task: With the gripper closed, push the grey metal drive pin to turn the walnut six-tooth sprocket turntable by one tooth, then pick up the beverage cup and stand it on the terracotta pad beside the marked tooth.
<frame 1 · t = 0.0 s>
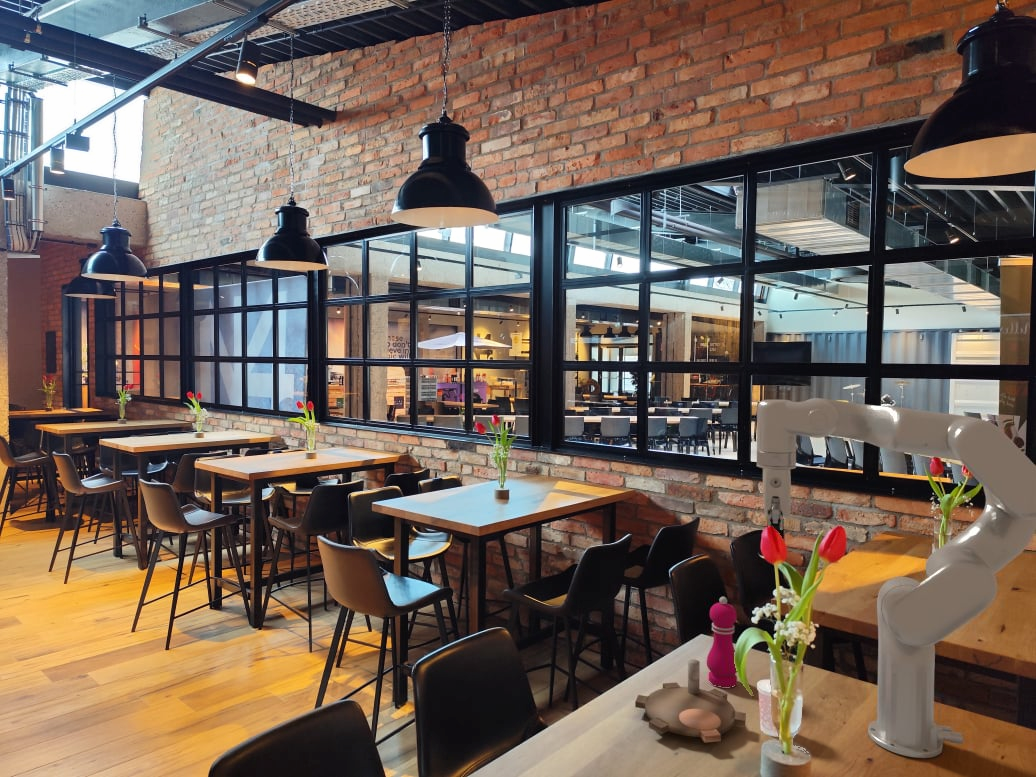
hand: (775, 542, 140), 37 cm above the table, tool pointing down, fingers open, 9 cm apart
sprocket: (689, 694, 140), point 6 cm above the table, hinge at 0.0°
pepper mill: (722, 683, 157), on the table
beverage cup: (772, 731, 137), on the table
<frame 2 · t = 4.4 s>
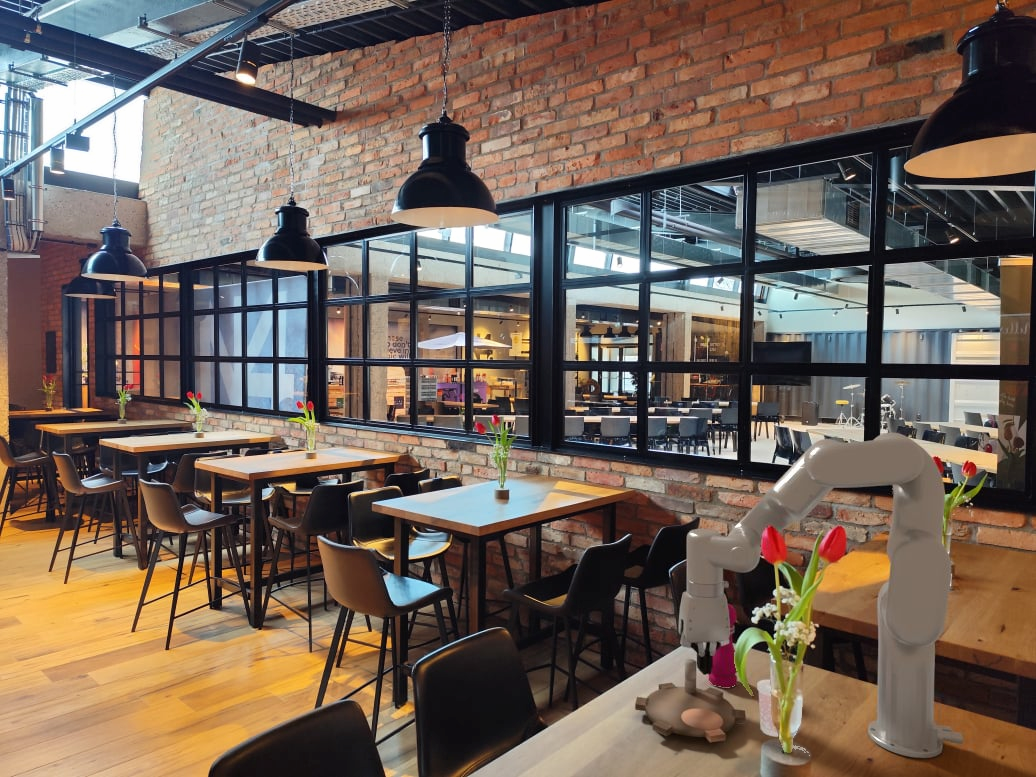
hand: (704, 671, 147), 7 cm above the table, tool pointing down, fingers closed
sprocket: (689, 694, 140), point 6 cm above the table, hinge at 5.5°, touching gripper
everything else where it was.
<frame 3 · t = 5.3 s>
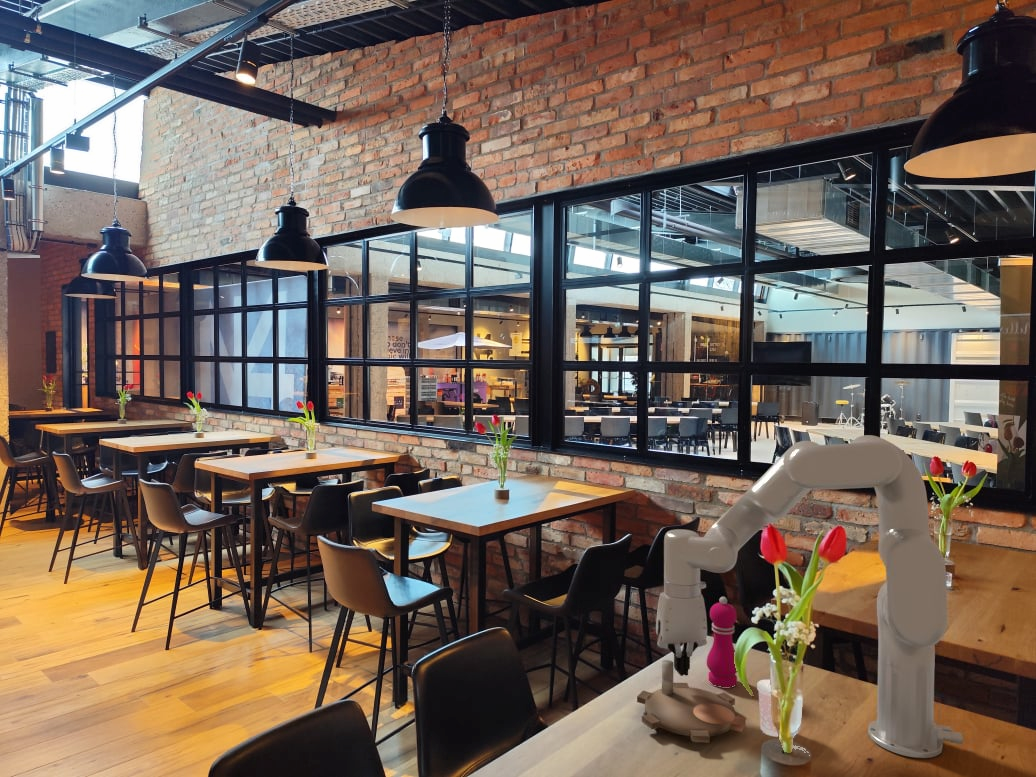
hand: (681, 672, 147), 7 cm above the table, tool pointing down, fingers closed
sprocket: (689, 694, 140), point 6 cm above the table, hinge at 48.0°, touching gripper
everything else where it was.
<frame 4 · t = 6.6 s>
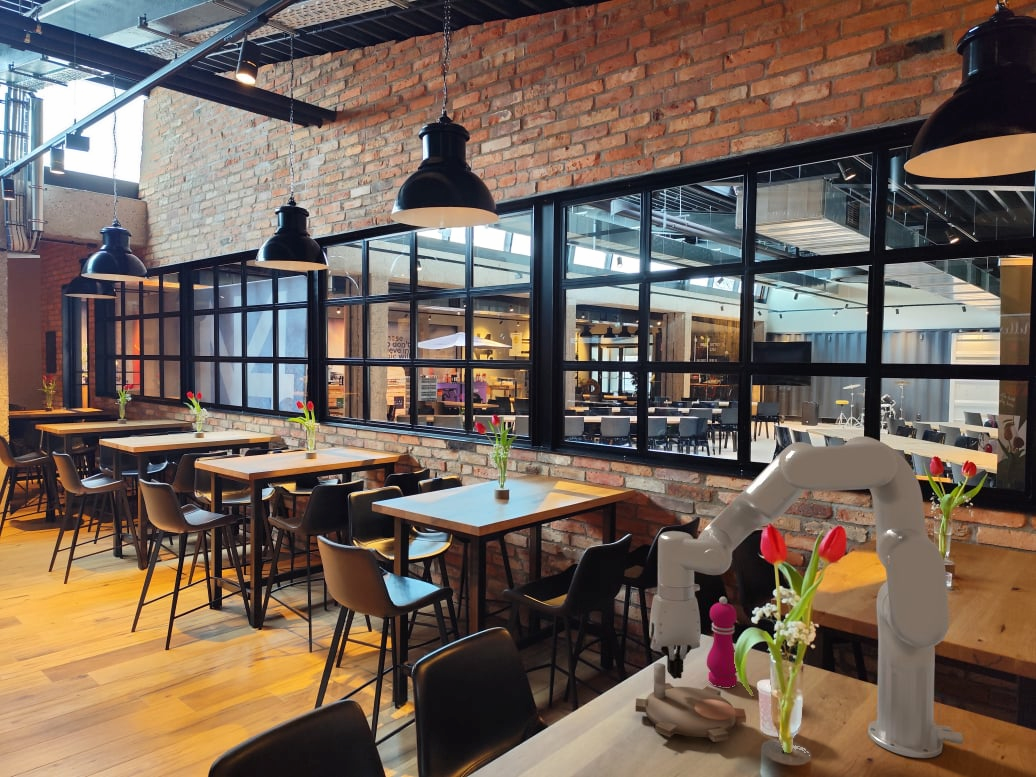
hand: (675, 675, 146), 7 cm above the table, tool pointing down, fingers closed
sprocket: (689, 694, 140), point 6 cm above the table, hinge at 69.1°
everything else where it was.
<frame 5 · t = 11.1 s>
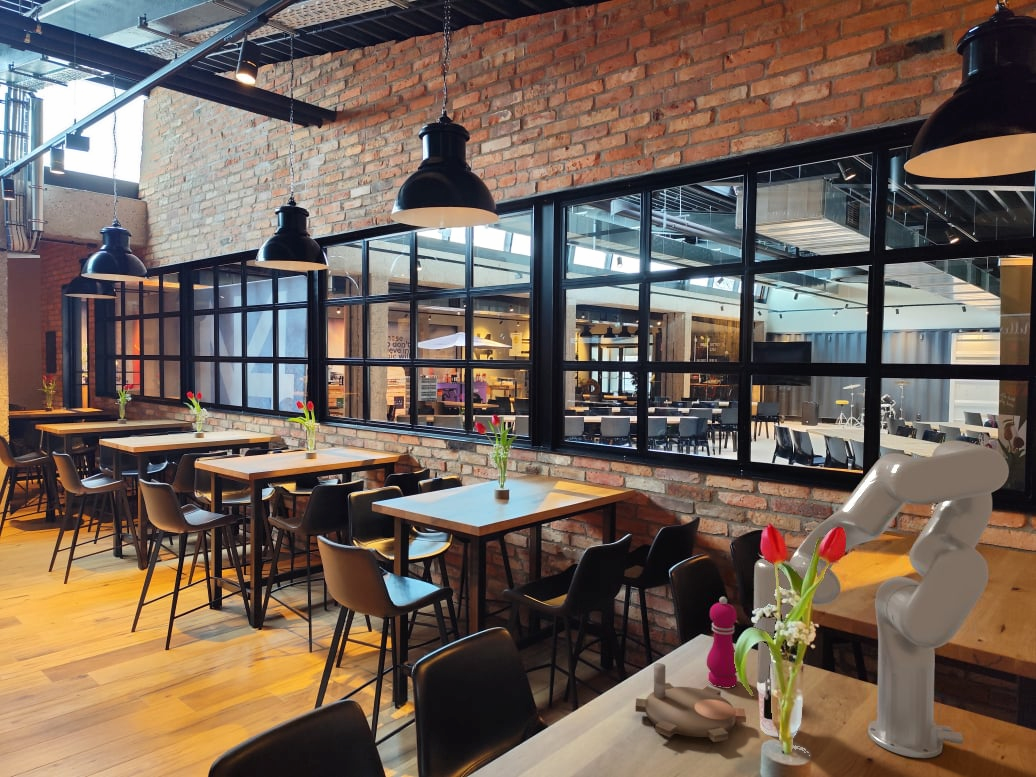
hand: (772, 710, 137), 4 cm above the table, tool pointing down, fingers closed on beverage cup, 6 cm apart
beverage cup: (772, 731, 137), on the table, touching gripper
everything else where it was.
when the fingers open (8 cm above the table, at t = 15.7 s): beverage cup stays where it is, resting on sprocket.
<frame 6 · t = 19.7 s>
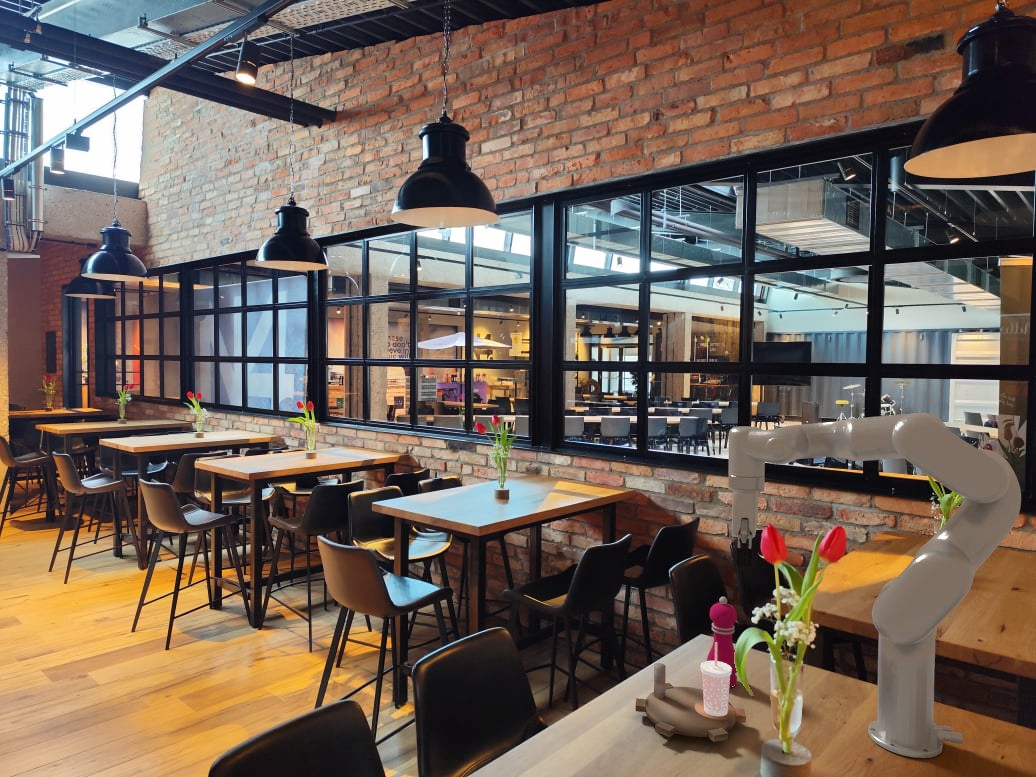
hand: (745, 560, 150), 30 cm above the table, tool pointing down, fingers open, 9 cm apart
sprocket: (689, 694, 140), point 6 cm above the table, hinge at 68.9°, touching beverage cup
beverage cup: (715, 711, 138), point 3 cm above the table, touching sprocket
everything else where it was.
at the end: sprocket at +69° (first picture: +0°); beverage cup inside the target area (0.2 cm from its centre), point 3.0 cm above the table; beverage cup tilted 0° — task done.
